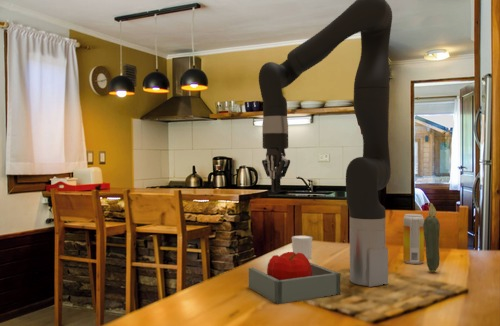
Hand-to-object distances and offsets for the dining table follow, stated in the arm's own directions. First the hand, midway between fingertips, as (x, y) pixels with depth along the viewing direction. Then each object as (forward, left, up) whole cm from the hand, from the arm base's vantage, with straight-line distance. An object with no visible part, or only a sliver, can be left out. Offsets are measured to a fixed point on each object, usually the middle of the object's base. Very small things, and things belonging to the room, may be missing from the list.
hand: (275, 191), depth 138 cm
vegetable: (-21, -39, -23) cm, 50 cm away
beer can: (-9, -44, -23) cm, 51 cm away
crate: (-20, +6, -23) cm, 31 cm away
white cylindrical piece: (+12, -16, -23) cm, 31 cm away
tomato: (-19, +7, -23) cm, 31 cm away
